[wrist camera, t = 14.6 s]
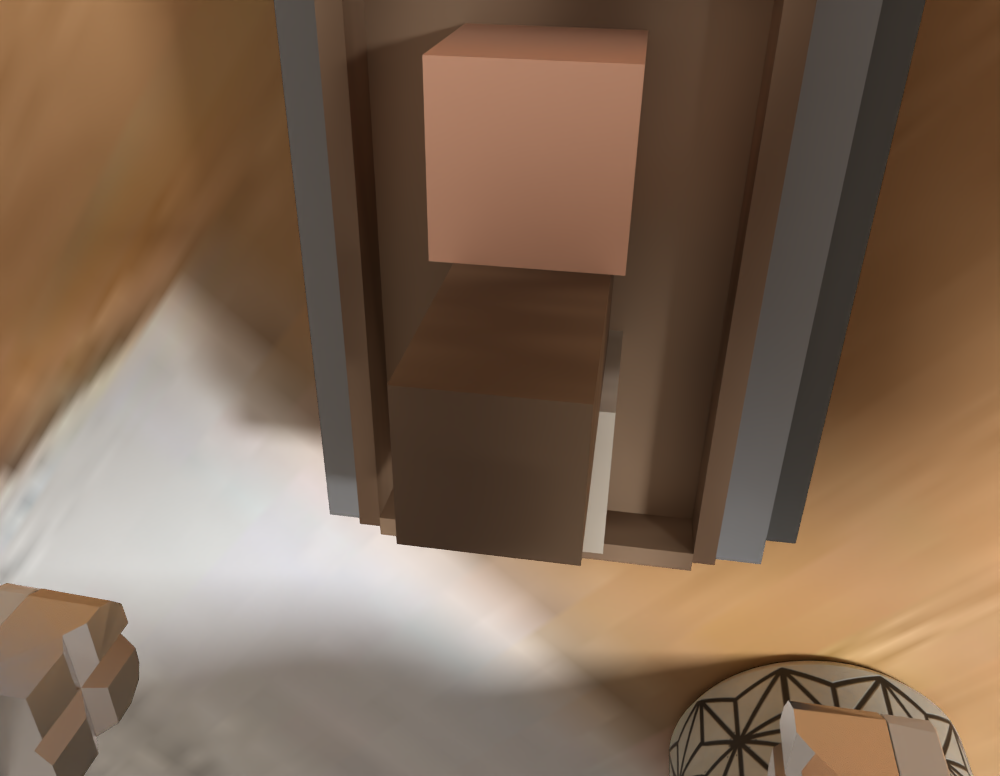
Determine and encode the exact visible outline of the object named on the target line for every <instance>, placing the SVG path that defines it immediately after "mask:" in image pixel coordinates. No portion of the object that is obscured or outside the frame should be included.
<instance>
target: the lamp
mask: <svg viewBox="0 0 1000 776" xmlns="http://www.w3.org/2000/svg"><path fill="white" fill-rule="evenodd" d="M788 700H790V701H797V702H804V703H812V704H819V705H826V706H834V707H841V708H848V709H856V710H863V711H870V712H877V713H878V714H879V715H880V714H887V715H894V716H901V717H908V718H914V719H921V720H928V721H930V722H931V723H932V724H933V726H934V727H935V728H936V729H937V733H938V736H939V739H940V743H941V746H942V749H943V753H944V756H945V759H946V762H947V766H948V769H949V772H950V776H973V773H972V771H971V768H970V765H969V762H968V759H967V756H966V753H965V750H964V747H963V744H962V741H961V739H960V736H959V734H958V732H957V730H956V729H955V727H954V725H953V724H952V722H951V721H950V720H949V718H948V717H947V716H946V715H945V714H944V713H943V712H942V710H941V709H940V708H938V707H937V706H936V705H935V704H934V703H933V702H932V701H930V700H929V699H928V698H926V697H925V696H924V695H922V694H921V693H919V692H917V691H916V690H914V689H912V688H911V687H909V686H907V685H905V684H903V683H902V682H900V681H898V680H896V679H894V678H891V677H889V676H887V675H884V674H882V673H879V672H876V671H873V670H870V669H867V668H863V667H859V666H855V665H850V664H844V663H838V662H829V661H790V662H782V663H775V664H769V665H765V666H760V667H757V668H753V669H750V670H747V671H744V672H741V673H739V674H736V675H734V676H732V677H729V678H727V679H725V680H723V681H722V682H720V683H718V684H717V685H715V686H713V687H712V688H711V689H709V690H708V691H706V692H705V693H704V694H703V695H702V696H701V697H699V698H698V699H697V700H696V701H695V702H694V703H693V704H692V705H691V706H690V707H689V708H688V709H687V710H686V711H685V713H684V714H683V715H682V717H681V718H680V720H679V721H678V723H677V725H676V727H675V729H674V732H673V734H672V737H671V741H670V747H669V776H767V775H768V767H769V762H770V758H771V753H772V749H773V748H774V747H775V746H777V745H778V744H780V743H782V741H781V731H780V719H781V715H782V712H783V708H784V706H785V704H786V703H787V701H788Z"/></svg>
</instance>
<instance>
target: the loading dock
mask: <svg viewBox="0 0 1000 776" xmlns="http://www.w3.org/2000/svg"><path fill="white" fill-rule="evenodd" d="M925 1H926V0H817V3H816V8H815V14H814V19H813V25H812V30H811V36H810V41H809V47H808V52H807V58H806V63H805V69H804V74H803V80H802V85H801V91H800V96H799V102H798V108H797V113H796V119H795V124H794V130H793V135H792V141H791V146H790V152H789V157H788V163H787V168H786V174H785V179H784V185H783V190H782V196H781V201H780V207H779V212H778V218H777V223H776V229H775V234H774V240H773V245H772V251H771V256H770V262H769V267H768V273H767V278H766V284H765V289H764V295H763V300H762V306H761V311H760V317H759V322H758V328H757V333H756V339H755V344H754V350H753V355H752V361H751V366H750V372H749V377H748V383H747V388H746V394H745V399H744V405H743V410H742V416H741V421H740V427H739V432H738V438H737V444H736V449H735V455H734V460H733V466H732V471H731V477H730V482H729V488H728V493H727V499H726V504H725V510H724V515H723V521H722V526H721V532H720V537H719V543H718V548H717V554H716V559H721V560H729V561H738V562H747V563H755V564H761V561H762V556H763V551H764V547H765V542H766V540H768V541H777V542H786V543H796V539H797V535H798V531H799V527H800V523H801V518H802V514H803V510H804V506H805V502H806V497H807V493H808V489H809V485H810V481H811V477H812V472H813V468H814V464H815V460H816V456H817V452H818V447H819V443H820V439H821V435H822V431H823V426H824V422H825V418H826V414H827V410H828V406H829V401H830V397H831V393H832V389H833V385H834V381H835V376H836V372H837V368H838V364H839V360H840V356H841V351H842V347H843V343H844V339H845V335H846V330H847V326H848V322H849V318H850V314H851V310H852V305H853V301H854V297H855V293H856V289H857V285H858V280H859V276H860V272H861V268H862V264H863V260H864V255H865V251H866V247H867V243H868V239H869V234H870V230H871V226H872V222H873V218H874V214H875V209H876V205H877V201H878V197H879V193H880V189H881V184H882V180H883V176H884V172H885V168H886V164H887V159H888V155H889V151H890V147H891V143H892V138H893V134H894V130H895V126H896V122H897V118H898V113H899V109H900V105H901V101H902V97H903V93H904V88H905V84H906V80H907V76H908V72H909V67H910V63H911V59H912V55H913V51H914V47H915V42H916V38H917V34H918V30H919V26H920V22H921V17H922V13H923V9H924V5H925ZM274 6H275V16H276V25H277V34H278V43H279V52H280V61H281V70H282V79H283V89H284V98H285V107H286V116H287V125H288V134H289V143H290V153H291V162H292V171H293V180H294V189H295V198H296V207H297V217H298V226H299V235H300V244H301V253H302V262H303V271H304V281H305V290H306V299H307V308H308V317H309V326H310V335H311V344H312V354H313V363H314V372H315V381H316V390H317V399H318V408H319V418H320V427H321V436H322V445H323V454H324V463H325V472H326V482H327V491H328V500H329V509H330V514H332V515H341V516H349V517H358V518H360V517H359V506H358V495H357V483H356V472H355V460H354V449H353V438H352V426H351V415H350V403H349V392H348V381H347V369H346V358H345V346H344V335H343V324H342V312H341V301H340V289H339V278H338V267H337V255H336V244H335V232H334V221H333V210H332V198H331V187H330V175H329V164H328V152H327V141H326V130H325V118H324V107H323V95H322V84H321V73H320V61H319V50H318V38H317V27H316V16H315V4H314V0H274Z"/></svg>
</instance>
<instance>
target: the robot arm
mask: <svg viewBox="0 0 1000 776" xmlns="http://www.w3.org/2000/svg"><path fill="white" fill-rule="evenodd" d="M127 624H128V621H127V618H126V615H125V612H124V610H123V607H122V604H120V603H117V602H113V601H108V600H103V599H97V598H92V597H86V596H80V595H75V594H69V593H63V592H58V591H52V590H47V589H39V588H33V587H27V586H21V585H15V584H9V583H6V584H4V585H2V586H0V776H84V774H85V773H86V771H87V770H88V768H89V767H90V765H91V764H92V762H93V761H94V759H95V758H96V756H97V755H98V744H97V736H98V735H100V734H101V733H103V732H105V731H106V730H108V729H109V728H111V727H113V726H114V725H116V724H118V723H119V721H120V720H121V718H122V717H123V715H124V713H125V712H126V710H127V709H128V707H129V706H130V704H131V702H132V699H133V696H134V693H135V690H136V687H137V684H138V680H139V660H138V656H137V652H136V649H135V647H134V646H133V645H132V644H131V643H130V642H129V641H128V640H127V639H126V638H125V637H124V636H123V635H122V634H121V632H122V631H123V629H124V628H125V627H126V625H127ZM780 731H781V741H782V743H780V744H778V745H777V746H775V747H774V748H773V749H772V753H771V758H770V762H769V767H768V775H767V776H950V772H949V769H948V766H947V762H946V759H945V756H944V753H943V749H942V746H941V743H940V739H939V736H938V733H937V729H936V728H935V727H934V726H933V724H932V723H931V722H930V721H928V720H921V719H914V718H908V717H901V716H894V715H887V714H880V715H879V714H878V713H877V712H870V711H863V710H856V709H848V708H841V707H834V706H826V705H819V704H812V703H804V702H797V701H790V700H788V701H787V703H786V704H785V706H784V708H783V712H782V715H781V719H780Z"/></svg>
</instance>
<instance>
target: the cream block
mask: <svg viewBox="0 0 1000 776" xmlns="http://www.w3.org/2000/svg"><path fill="white" fill-rule="evenodd" d="M622 337H623V331H614V330H609V337H608V345H607V353H606V361H605V370H604V378H603V386H602V394H601V403H600V411H599V419H598V427H597V436H596V444H595V452H594V460H593V469H592V477H591V485H590V493H589V502H588V510H587V518H586V526H585V535H584V543H583V551H582V552H591V553H600V554H603V547H604V536H605V525H606V514H607V503H608V492H609V480H610V469H611V458H612V447H613V436H614V425H615V414H616V403H617V392H618V381H619V370H620V359H621V348H622Z"/></svg>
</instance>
